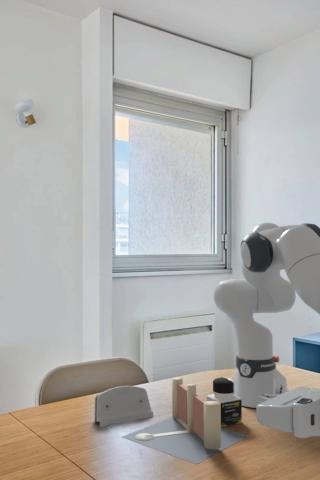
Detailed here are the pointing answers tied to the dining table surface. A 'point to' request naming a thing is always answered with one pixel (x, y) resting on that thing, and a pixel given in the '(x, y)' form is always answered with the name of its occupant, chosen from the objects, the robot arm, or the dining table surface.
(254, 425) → the dining table surface
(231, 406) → the medicine bottle
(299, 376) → the dining table surface
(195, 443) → the board
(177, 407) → the fixed fence
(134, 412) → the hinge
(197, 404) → the swing panel
